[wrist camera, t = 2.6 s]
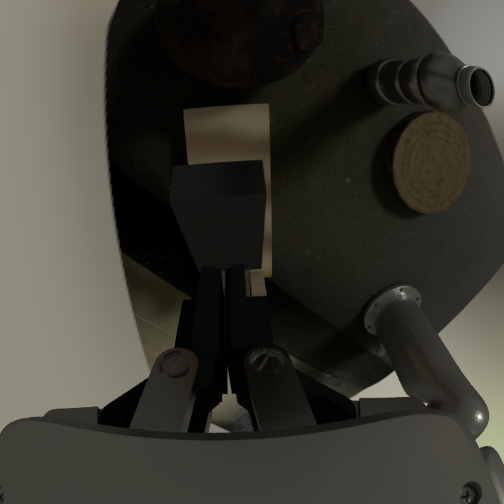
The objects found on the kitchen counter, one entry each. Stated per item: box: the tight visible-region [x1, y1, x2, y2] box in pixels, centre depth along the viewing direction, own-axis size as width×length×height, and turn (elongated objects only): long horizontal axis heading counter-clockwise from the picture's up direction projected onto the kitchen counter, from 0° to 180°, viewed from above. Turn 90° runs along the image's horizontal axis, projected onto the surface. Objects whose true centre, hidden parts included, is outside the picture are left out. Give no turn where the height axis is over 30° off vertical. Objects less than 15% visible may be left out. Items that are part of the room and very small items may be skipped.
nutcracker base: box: [183, 104, 272, 296], centre depth 35 cm, size 24×10×12 cm, turn 2°
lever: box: [169, 160, 267, 297], centre depth 26 cm, size 23×5×3 cm
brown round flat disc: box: [385, 110, 472, 214], centre depth 37 cm, size 16×16×3 cm
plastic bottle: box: [365, 52, 495, 115], centre depth 24 cm, size 6×7×20 cm
